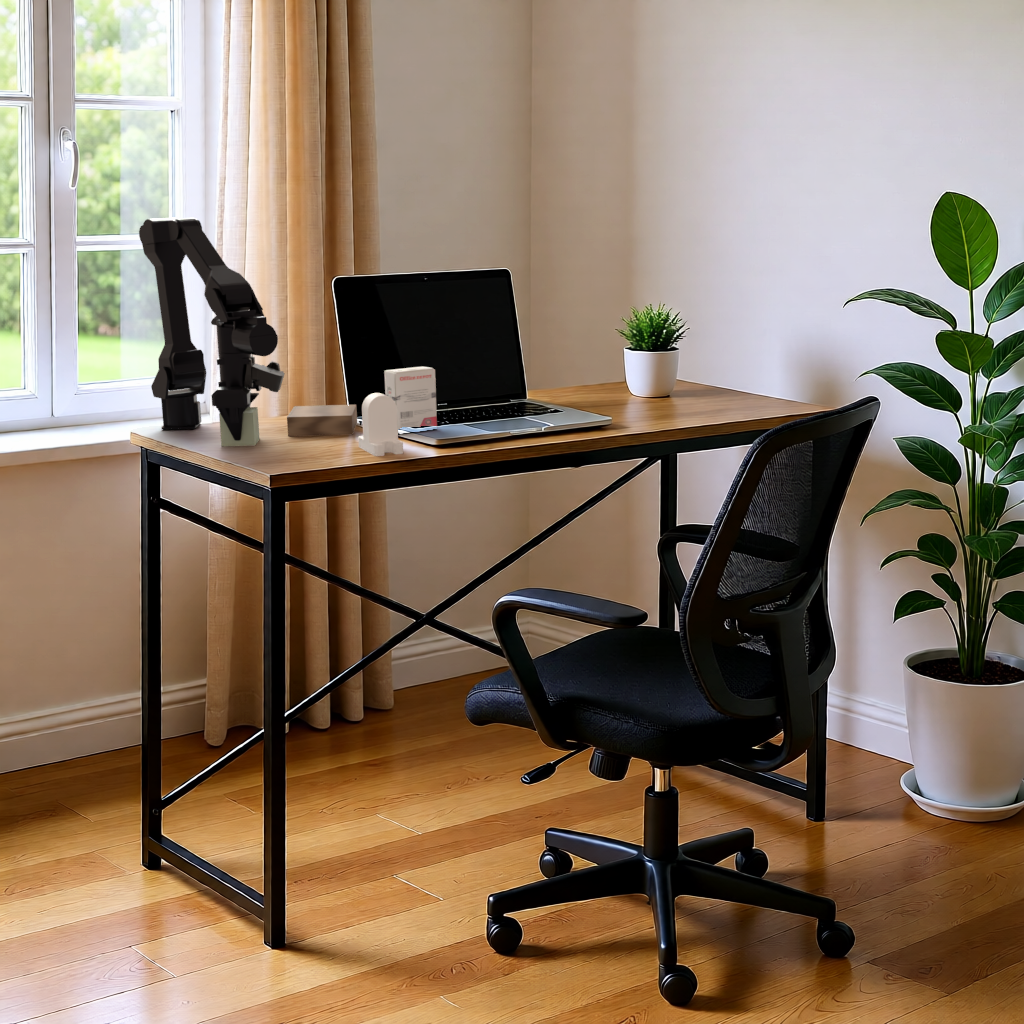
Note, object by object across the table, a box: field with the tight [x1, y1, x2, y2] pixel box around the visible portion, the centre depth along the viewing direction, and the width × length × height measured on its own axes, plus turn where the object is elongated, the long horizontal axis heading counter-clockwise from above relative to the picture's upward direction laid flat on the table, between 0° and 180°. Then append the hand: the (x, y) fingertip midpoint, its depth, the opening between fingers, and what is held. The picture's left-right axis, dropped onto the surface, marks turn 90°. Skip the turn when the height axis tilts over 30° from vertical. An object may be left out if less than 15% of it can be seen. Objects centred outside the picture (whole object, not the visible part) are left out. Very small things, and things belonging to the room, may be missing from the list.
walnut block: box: [286, 404, 358, 437], centre depth 264 cm, size 12×12×4 cm
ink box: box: [383, 365, 438, 429], centre depth 260 cm, size 9×5×12 cm, turn 121°
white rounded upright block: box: [357, 392, 404, 457], centre depth 243 cm, size 5×10×10 cm, turn 23°
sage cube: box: [218, 406, 261, 447], centre depth 253 cm, size 6×6×6 cm
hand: (240, 436), depth 253 cm, fingers closed on sage cube, 6 cm apart
